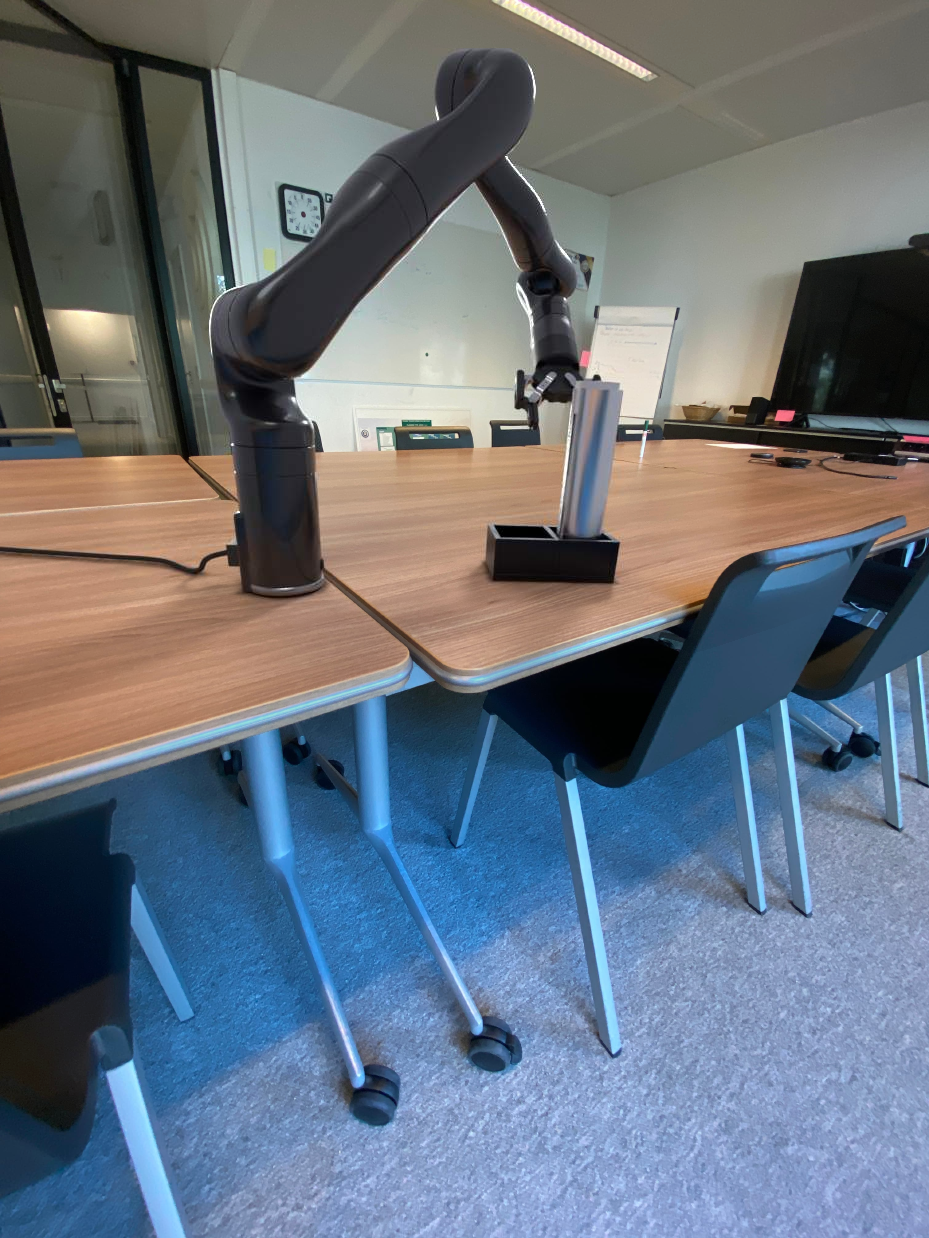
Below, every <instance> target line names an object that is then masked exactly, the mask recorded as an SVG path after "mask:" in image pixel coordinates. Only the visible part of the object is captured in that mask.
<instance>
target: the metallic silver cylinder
mask: <svg viewBox="0 0 929 1238" xmlns="http://www.w3.org/2000/svg"><path fill="white" fill-rule="evenodd" d="M620 386H621V382H616V381H602V380H601V381H576V388H573V393H572V402H571V405H570V410H569V411H570V412H569V418H568V419H569V421H568V428H567V438H566V446H565V455H564V463H563V472H562V478H561V479H562V480H561V488H560V497H559V504H558V505H559V507H558V515H557V524H556V526H557V531H556V535H557V536H558V538H559V539H574V540H601V537H602V530H604V523H605V517H606V511H607V510H606V509H607V503H608V496H609V490H610V482H611V475H612V469H613V463H614V456H615V450H616V444H617V437H618V430H619V423H620V418H621V417H620V416H621V410H622V404H623V403H622V402H623V398H624V397H623V396H624V390H623V389H620V388H621V387H620Z"/></svg>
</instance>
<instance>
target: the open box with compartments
mask: <svg viewBox="0 0 929 1238" xmlns="http://www.w3.org/2000/svg"><path fill="white" fill-rule="evenodd" d="M556 531H557V525H543V524H542V525H540V524H513V523H512V524H511V523H509V524H507V523H487V530H486V544H485V560H484V561H485V564H486V568H487V569H488V572H489V574H490V577H491V579H492V581H496V582H497V581H499V582H501V581H502V582H540V583H541V582H542V583H543V582H544V583H545V582H546V583H547V582H548V583H591V584H592V583H594V584H596V583H598V584H614V583H615V576H616V570H617V564H618V559H619V552H620V545H621V541H619V539H616V538H615V537H614V536H613V535H611V534H610V533H608V532H607V531H606V530H604V529H603V530H602V537H601V540H574V539H559V538H558V536H557V535H556Z"/></svg>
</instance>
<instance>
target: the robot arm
mask: <svg viewBox="0 0 929 1238" xmlns="http://www.w3.org/2000/svg"><path fill="white" fill-rule="evenodd" d="M433 95H434V99H433V100H434V108H435V110H434V111H435V114H436V118H437V119H436V120H435V121H433V122H431V123H428V124H426V125H424V126H421V127H419V128H416V129H414V130H411V131H409V132H407V133H404V134H403V135H401V136H399V137H397V138H394V139H393V140H391V141H389V142H388V143H386V144H384V145H383V146H381V147H380V148H379V149H378V148H377V150H376V151H374V152H373V153H372V154H371V155H370V156H369V157H368V158H367V159H366V160H365V161H364V162H363V163H362V164H361V165H359V166H358V167H357V169H356V170H355V171H353V173H352V174H351V175H350V176H349V177H348V178H347V179H346V180H345V181H344V183H343V184H342V185H341V186H340V188H339V189H338V191H337V192H336V194H335V195H334V197H333V199H332V201H331V202H330V205H329V207H328V209H327V211H326V214H325V215H324V218H323V221H322V223H321V225H320V227H319V228H318V230H317V232H316V234H315V235H314V236H313V237H312V239H311V240H310V241H309V242H308V243H307V244H306V245H305V247H303V248H302V249H301V250H300V251H298V253H296V254H295V255H293V257H292V258H290V259H289V260H288V261H287V262H286V263H285V264H283V265H282V266H280V267H279V268H278V269H277V270H275V271H274V272H272V273H271V274H269V275H268V276H266V277H264V278H263V279H261V280H258V281H254V282H251V283H247V284H243V285H239V286H236V287H233V288H230V289H227V290H225V292H223V293H222V294H221V295H219V296H218V297H217V299H216V300H215V302H214V304H213V306H212V309H211V312H210V316H209V317H210V318H209V342H210V350H211V356H212V364H213V371H214V378H215V383H216V384H215V385H216V389H217V397H218V402H219V408H220V411H221V414H222V417H223V419H224V421H225V423H226V425H227V428H228V433H229V439H230V443H231V444H230V446H231V448H230V449H231V456H232V464H233V465H232V466H233V471H234V480H235V488H236V489H235V490H236V498H237V506H238V507H237V508H238V511H236V512H234V514H233V524H234V533H235V537H234V538H233V539H231V540H230V541H229V542H227V543H226V544H225V549H224V550H219V551H215V552H212V553H210V554H207V555H206V556H204V557H203V558H202V559H201V561H200V563H199V565H198V566H197V567H193V568H192V567H188V566H185V565H183V564H180V563H178V562H176V561H173V560H171V559H168V558H162V557H156V556H147V555H134V554H133V555H131V554H114V553H113V554H112V553H100V552H82V551H67V550H56V549H55V550H53V549H39V548H38V549H37V548H25V547H11V546H0V552H1V553H3V552H4V553H14V554H16V553H17V554H27V555H28V554H29V555H44V556H56V557H57V556H58V557H59V556H60V557H74V558H87V559H105V560H117V561H118V560H119V561H139V562H150V563H158V564H159V563H160V564H164V565H167V566H169V567H170V566H171V567H173V568H175V569H177V570H180V571H183V572H186V573H189V574H199V573H201V572H203V571H204V570H205V568H206V565H207V563H209V562H210V561H212V560H214V559H217V558H221V557H226V556H227V557H226V558H227V566H228V567H235V568H236V567H238V568H239V575H240V582H241V591H242V592H250V593H254V594H256V595H261V596H267V597H291V596H298V595H299V596H300V595H304V594H308V593H312V592H314V591H317V590H318V589H320V588H321V587H322V586H323V585H324V583H325V580H324V573H323V571H324V570H325V560H324V558H323V557H322V541H321V526H320V525H321V524H320V508H319V507H320V506H319V494H318V493H319V492H318V491H319V490H318V475H317V457H316V442H315V440H316V439H315V437H316V436H315V428H314V423H313V421H312V420H311V419H310V418H309V417H308V416H307V414H306V413H305V412H304V411H303V409H302V408H301V406H300V404H299V400H298V395H297V388H296V381H295V379H298V378H300V377H302V376H303V375H305V374H306V373H308V372H309V371H310V370H311V369H312V368H313V367H315V365H316V364H317V362H318V361H319V359H320V358H321V357H322V356H323V354H324V353H325V352H326V351H327V349H328V347H329V346H330V344H331V343H332V341H333V340H334V339H335V337H336V335H338V332H339V331H340V330H341V328H342V327H343V326H344V324H345V323H346V321H347V320H348V318H350V316H351V315H352V313H353V312H354V311H355V309H356V308H357V307H358V305H359V304H360V303H361V302H362V301H363V300H364V299H365V298H366V297H367V296H368V295H369V294H371V292H372V291H374V289H376V288H377V286H379V285H380V284H381V282H382V281H384V279H385V278H386V277H387V276H388V275H389V274H390V273H391V272H392V271H393V270H394V269H395V268H396V267H397V266H398V265H399V264H400V263H401V262H402V261H403V260H404V259H405V258H406V257H407V256H408V255H409V254H410V253H411V252H412V251H413V249H414V248H415V247H416V246H417V245H418V244H419V243H420V242H421V241H422V240H423V239H424V237H425V236H426V235H427V233H429V231H430V230H431V228H432V227H433V226H434V225H435V224H436V223H437V222H438V221H439V219H441V217H443V215H444V214H446V213H447V212H448V210H449V209H450V208H451V207H452V206H453V205H454V204H455V203H456V202H457V201H458V200H459V199H460V197H461V196H463V195H464V194H465V192H466V191H467V190H468V189H469V188H470V187H471V186H472V185H473V184H474V185H475V186H474V187H476V189H477V190H478V192H479V194H480V195H481V196H482V198H483V200H484V201H485V203H486V204H487V206H488V207H489V209H490V211H491V213H492V215H493V216H494V218H495V220H496V222H497V224H498V226H499V229H500V230H501V233H502V235H503V237H504V239H505V242H506V245H507V248H508V249H509V251H510V254H511V256H512V259H513V261H514V263H515V265H516V267H517V268H518V269H519V270H520V271H521V272H520V273H519V275H518V277H517V279H516V284H515V289H516V294H517V297H518V299H519V302H520V303H521V305H522V307H523V309H524V311H525V312H526V314H527V317H528V320H529V328H530V329H529V330H530V342H529V343H530V350H529V353H530V357H531V366H532V367H531V368H532V374H531V375H530V374H525V371H524V370H523V369H518V370H516V374H515V379H514V384H513V392H514V393H513V407H514V409H515V410H517V411H520V410H524V411H525V413H526V423H527V424H526V425H527V427H528V428H531V431H533V432H537V430H538V427H539V423H540V417H539V408H540V407H541V405H542V404H543V403H544V402H545V401H547V403H550V404H551V403H552V404H554V403H560V404H569V405H570V406H571V402H572V393H573V388H576V381H602V377H601V375H600V374H598V373H596V374H594V375H593V376H592V377H591V378H589V377H588V378H586V377H584V376H583V375H582V374H581V370H580V369H581V368H580V360H579V352H578V346H577V345H578V344H577V338H576V333H575V329H574V328H573V321H572V313H571V306H570V304H569V302H568V299H569V298H571V297H572V296H573V294H574V293H575V291H576V289H577V286H578V285H577V284H578V273H577V270H576V268H575V265H574V263H573V261H572V259H571V258H570V256H569V255H568V254H567V253H566V252H565V251H564V249H563V248H562V247H561V246H560V245H559V242H558V241H557V240H556V238H555V236H554V233H553V231H552V227H551V224H550V221H549V218H548V214H547V211H546V208H545V206H544V205H543V202H542V200H541V199H540V197H539V196H538V194H537V193H536V191H535V190H534V188H533V187H532V186H531V184H529V182H528V181H527V180H526V179H525V177H524V176H523V175H522V174H521V172H519V171H518V169H517V168H516V167H515V166H514V165H513V163H512V162H511V161H510V160H509V158H508V155H509V154H510V153H511V152H512V151H513V150H514V149H515V148H516V147H517V146H518V145H519V144H520V142H521V140H522V138H523V137H524V135H525V133H526V131H527V129H528V128H529V125H530V121H531V118H532V116H533V111H534V106H535V100H536V83H535V78H534V75H533V71H532V68H531V67H530V65H529V63H528V61H527V60H526V59H525V58H524V57H523V56H522V55H521V54H519V53H517V52H515V51H513V50H510V49H505V48H500V47H499V48H496V47H495V48H494V47H493V48H491V47H490V48H464V49H458V50H455V51H452V52H450V53H449V54H448V55H447V56H446V57H445V58H443V61H442V62H441V64H440V65H439V68H438V70H437V74H436V79H435V82H434V94H433ZM529 385H531V387H532V388H533V390H534V391H533V392H532V393H531V394H530V395H529V396H526V395H525V389H527V388H528V386H529Z"/></svg>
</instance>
